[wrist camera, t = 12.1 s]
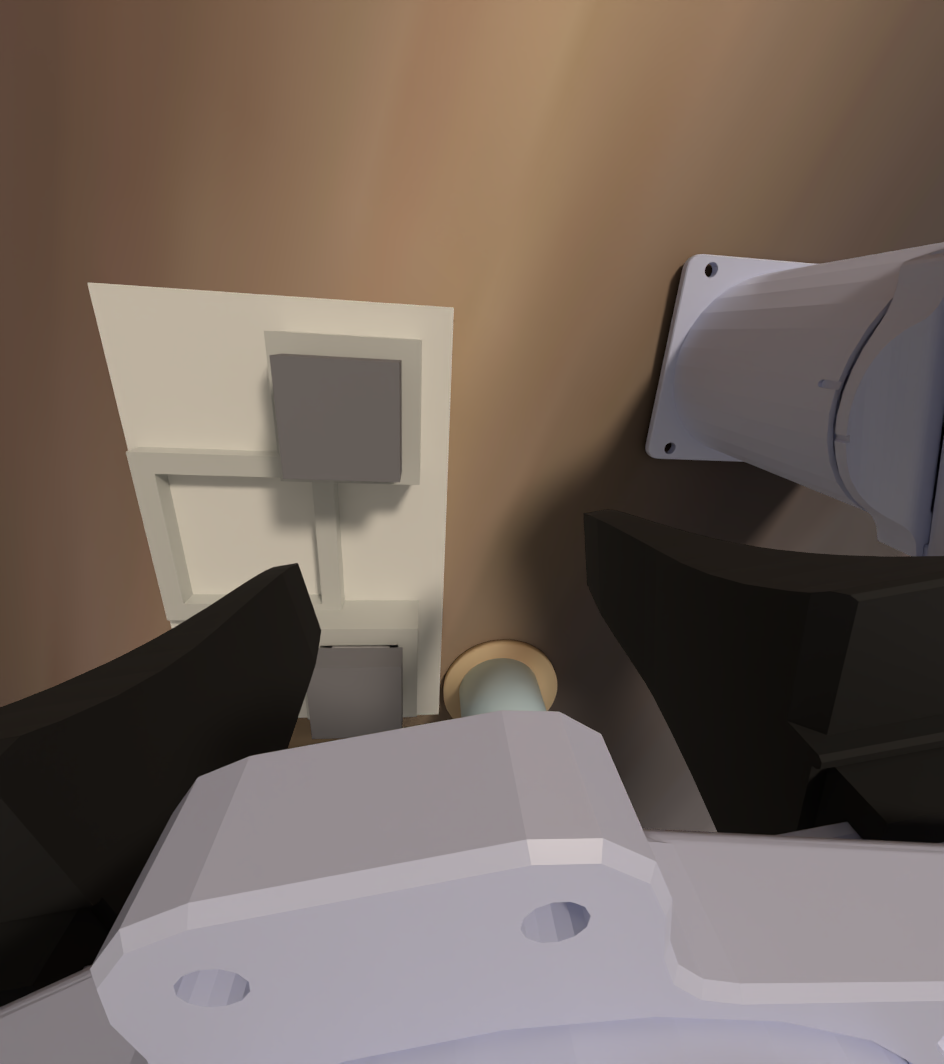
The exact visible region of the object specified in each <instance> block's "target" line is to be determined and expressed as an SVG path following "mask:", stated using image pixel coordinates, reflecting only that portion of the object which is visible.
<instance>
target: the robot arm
mask: <svg viewBox="0 0 944 1064" xmlns="http://www.w3.org/2000/svg"><path fill="white" fill-rule="evenodd" d="M708 264H710V265H711V266H712V273H711V275H710V276H709V277H707V276H706V274H705V268H706V266H707V265H708ZM668 443H671V448H670V450H669V451H667V452H665V451H664V448H665V446H666V445H667V444H668ZM645 450H646V453H647V454H648V455H649V456H651V457H652V458H656V459H682V460H710V461H738V462H746V463H749V464H751V465H753V466H756V467H758V468H761V469H763V470H766V471H768V472H771V473H773V474H776V475H778V476H781V477H783V478H785V479H788V480H790V481H793V482H795V483H798V484H800V485H803V486H805V487H808V488H810V489H812V490H815V491H817V492H820V493H822V494H825V495H827V496H830V497H832V498H835V499H837V500H839V501H842V502H844V503H847V504H849V505H852V506H854V507H857V508H859V509H862V510H864V511H866V512H868V513H869V514H870V515H871V516H872V517H873V519H874V521H875V524H876V527H877V540H878V541H879V542H882V543H884V544H886V545H888V546H890V547H892V548H895V549H897V550H899V551H901V552H903V553H905V554H908V555H910V556H911V557H877V556H848V555H830V554H815V553H804V552H795V551H785V550H776V549H769V548H761V547H755V546H749V545H744V544H738V543H732V542H727V541H722V540H718V539H713V538H709V537H705V536H701V535H697V534H693V533H689V532H686V531H682V530H679V529H675V528H672V527H668V526H665V525H662V524H659V523H655V522H652V521H649V520H646V519H643V518H640V517H636V516H633V515H630V514H626V513H623V512H619V511H615V510H609V509H607V510H601V511H595V512H590V513H584V532H585V552H586V572H587V585H588V587H589V589H590V592H591V594H592V596H593V598H594V601H595V603H596V605H597V607H598V609H599V611H600V613H601V615H602V617H603V618H604V620H605V622H606V623H607V625H608V626H609V628H610V629H611V631H612V632H613V634H614V636H615V637H616V639H617V640H618V642H619V643H620V645H621V646H622V648H623V649H624V651H625V652H626V654H627V655H628V657H629V658H630V660H631V662H632V663H633V665H634V666H635V668H636V669H637V671H638V672H639V674H640V675H641V677H642V678H643V680H644V681H645V683H646V685H647V687H648V688H649V690H650V692H651V693H652V695H653V697H654V699H655V701H656V703H657V705H658V707H659V709H660V711H661V712H662V714H663V716H664V718H665V720H666V722H667V724H668V726H669V728H670V730H671V732H672V734H673V736H674V738H675V741H676V743H677V745H678V747H679V749H680V751H681V753H682V755H683V757H684V759H685V762H686V764H687V766H688V768H689V770H690V772H691V774H692V776H693V778H694V781H695V783H696V785H697V787H698V790H699V792H700V794H701V796H702V799H703V801H704V803H705V805H706V807H707V810H708V812H709V814H710V816H711V819H712V821H713V823H714V825H715V827H716V830H717V832H700V831H680V830H660V829H642V827H641V825H640V822H639V820H638V818H637V815H636V813H635V811H634V809H633V806H632V804H631V802H630V799H629V797H628V795H627V792H626V790H625V788H624V785H623V783H622V781H621V779H620V776H619V774H618V772H617V769H616V767H615V765H614V762H613V760H612V758H611V755H610V753H609V751H608V749H607V746H606V744H605V742H604V739H603V737H602V735H601V734H600V733H598V732H596V731H594V730H593V729H591V728H589V727H587V726H585V725H583V724H581V723H579V722H578V721H576V720H574V719H572V718H570V717H568V716H566V715H565V714H563V713H561V712H556V711H511V710H500V711H495V712H489V713H484V714H478V715H473V716H467V717H461V718H456V719H450V720H445V721H439V722H434V723H428V724H423V725H417V726H412V727H406V728H401V729H395V730H390V731H384V732H379V733H373V734H368V735H362V736H357V737H351V738H346V739H340V740H334V741H329V742H323V743H318V744H312V745H307V746H301V747H296V748H290V749H288V745H289V742H290V739H291V736H292V734H293V731H294V728H295V725H296V722H297V719H298V716H299V713H300V710H301V707H302V704H303V701H304V699H305V696H306V693H307V690H308V687H309V684H310V681H311V678H312V675H313V671H314V668H315V665H316V660H317V655H318V649H319V643H320V636H321V628H320V625H319V622H318V619H317V616H316V614H315V611H314V608H313V605H312V602H311V599H310V596H309V593H308V590H307V588H306V585H305V582H304V579H303V576H302V573H301V570H300V567H299V564H298V563H294V564H288V565H282V566H276V567H272V568H270V569H268V570H266V571H264V572H262V573H260V574H258V575H257V576H255V577H253V578H252V579H250V580H248V581H247V582H245V583H244V584H242V585H241V586H239V587H237V588H236V589H234V590H233V591H231V592H230V593H228V594H227V595H225V596H224V597H222V598H221V599H219V600H218V601H216V602H214V603H213V604H211V605H210V606H208V607H207V608H205V609H203V610H202V611H200V612H199V613H197V614H195V615H194V616H192V617H190V618H189V619H187V620H185V621H184V622H182V623H181V624H179V625H177V626H176V627H174V628H172V629H171V630H169V631H167V632H166V633H164V634H162V635H160V636H159V637H157V638H155V639H153V640H151V641H149V642H148V643H146V644H144V645H142V646H140V647H138V648H136V649H134V650H132V651H130V652H128V653H126V654H124V655H123V656H121V657H119V658H116V659H114V660H112V661H110V662H108V663H106V664H104V665H101V666H99V667H97V668H95V669H92V670H90V671H88V672H86V673H84V674H81V675H79V676H77V677H75V678H72V679H70V680H68V681H66V682H63V683H61V684H59V685H57V686H54V687H52V688H49V689H47V690H44V691H42V692H39V693H37V694H34V695H32V696H29V697H27V698H24V699H22V700H19V701H17V702H14V703H11V704H8V705H6V706H3V707H0V1064H944V242H942V243H937V244H931V245H925V246H920V247H914V248H908V249H903V250H897V251H891V252H886V253H880V254H874V255H868V256H863V257H857V258H851V259H846V260H840V261H834V262H829V263H823V264H812V263H801V262H789V261H777V260H766V259H754V258H742V257H731V256H719V255H707V254H699V255H694V256H692V257H690V258H689V259H688V260H687V261H686V262H685V263H684V266H683V269H682V273H681V278H680V283H679V288H678V292H677V297H676V302H675V307H674V312H673V316H672V321H671V326H670V331H669V335H668V340H667V345H666V350H665V355H664V359H663V364H662V369H661V374H660V378H659V383H658V388H657V393H656V398H655V402H654V407H653V412H652V417H651V421H650V426H649V431H648V436H647V440H646V445H645Z"/></svg>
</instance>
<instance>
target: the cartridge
mask: <svg viewBox="0 0 944 1064" xmlns="http://www.w3.org/2000/svg"><path fill="white" fill-rule="evenodd" d="M459 697H460V709H461V717H467V716H473V715H478V714H484V713H489V712H495V711H500V710H511V711H547V710H546V707H545V704H544V701H543V698H542V694H541V691H540V688H539V685H538V682H537V678H536V676H535V674H534V672H533V671H532V670H531V669H530V668H529V667H528V666H527V665H526V664H524V663H522V662H520V661H517V660H514V659H509V658H496V659H491V660H487V661H484V662H482V663H480V664H478V665H476V666H475V667H473V668H472V669H471V670H470V671H468V673H467V674H466V675H465V676H464V678H463V680H462V682H461V684H460V688H459Z"/></svg>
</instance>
